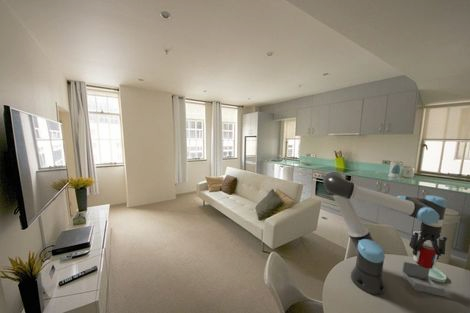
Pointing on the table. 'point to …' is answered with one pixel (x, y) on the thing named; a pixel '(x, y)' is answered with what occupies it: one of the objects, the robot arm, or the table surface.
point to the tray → (436, 275)
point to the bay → (420, 272)
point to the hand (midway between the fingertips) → (423, 261)
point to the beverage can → (426, 256)
